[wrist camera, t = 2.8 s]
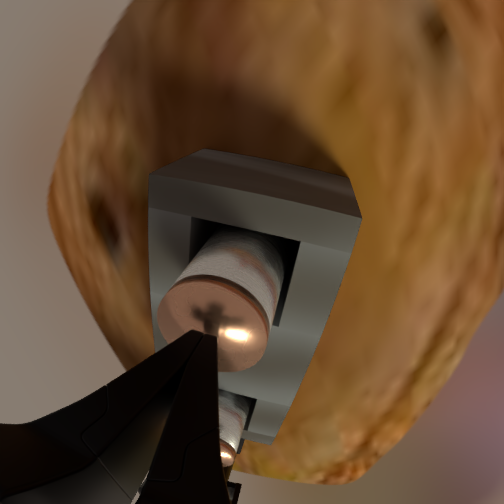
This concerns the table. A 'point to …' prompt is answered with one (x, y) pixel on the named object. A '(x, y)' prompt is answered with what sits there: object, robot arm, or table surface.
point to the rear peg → (231, 423)
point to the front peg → (229, 294)
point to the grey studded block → (267, 221)
